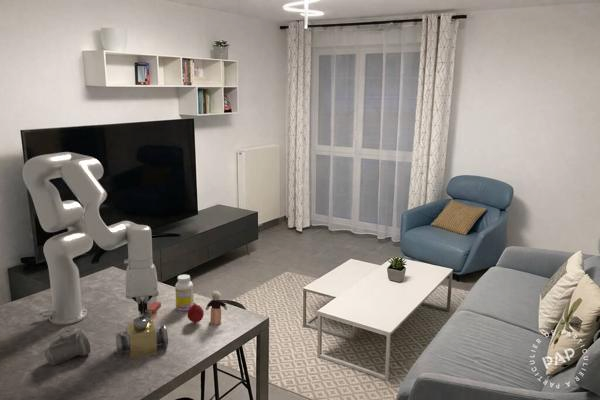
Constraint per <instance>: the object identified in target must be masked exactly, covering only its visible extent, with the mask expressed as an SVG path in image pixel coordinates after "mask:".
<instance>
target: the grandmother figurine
mask: <svg viewBox="0 0 600 400" xmlns="http://www.w3.org/2000/svg"><path fill="white" fill-rule="evenodd" d="M221 296H222V294H221V293H220V291H218V290H214V291H212V293H211V297H212V299H211V300H210V301H208V303H207V305H206V307H205V310H206V311H208V310H209V308H210V316H209V317H210V321H209V322H208V325H210V326H213V325H216V326H220V325H221V324H222V322H221V321H222V308H221V307H223V308H224V310H225V311H227V310H228V307H227V305H226V303H225V302H224V301H222V300H220V298H221Z"/></svg>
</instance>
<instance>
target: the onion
mask: <svg viewBox="0 0 600 400" xmlns="http://www.w3.org/2000/svg"><path fill="white" fill-rule="evenodd" d="M186 315H187V319H188V320H189V321H190V322H191V323H194V324H197V323H199V322H200V321H202V320H203V318H204V315H205V311H204V309H203V308H202V306H200V305H198V304H197V303H196V302H194V304H193V306H191V307H190V308H189V310H187V311H186Z"/></svg>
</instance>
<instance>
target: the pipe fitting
mask: <svg viewBox="0 0 600 400" xmlns="http://www.w3.org/2000/svg"><path fill="white" fill-rule="evenodd" d="M58 336H59V338H57V339H55V340H53V341H51V342H50V344H49V346H48V347H45V350H44V356H45V359H46V362H47V363H48V365H50V366H52V367H54V366H56V365H59V364H60V363H61V364H62V363H63V362H65V361H67V360H70V359H72V358H74V357H76V356H86V355H88V354H90V353H91V344H90V341H89V339H88V337H87V335H86V332H84V331H83V329H77V327H76V326H71V325H70V326H66V327H63V328H62V329H60V331H59V332H58Z"/></svg>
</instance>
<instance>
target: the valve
mask: <svg viewBox="0 0 600 400" xmlns="http://www.w3.org/2000/svg"><path fill="white" fill-rule="evenodd" d="M148 322H149V326H148V327H147V328H145V329H142V330H137V329H134V324H133V322H130V323H128V322H127V323H126V329H127V330H126V331H127V334H122V333H121V331H120V332H116V333H115V345H116V353H117V356H122V355H123V353H124V352H125V351H129V354H130V355H129V356H130V358H131V359H133V358H140V357H143V356H149V355H153V354H157V353H158V345H162V347H163V348H165V347H168V346H169V337H168V336H169V335H168V329H167V326H166V323H165V324H160V326H159V328H156V327H155V323H154V321H153V318H152V319H151V320H148Z"/></svg>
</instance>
